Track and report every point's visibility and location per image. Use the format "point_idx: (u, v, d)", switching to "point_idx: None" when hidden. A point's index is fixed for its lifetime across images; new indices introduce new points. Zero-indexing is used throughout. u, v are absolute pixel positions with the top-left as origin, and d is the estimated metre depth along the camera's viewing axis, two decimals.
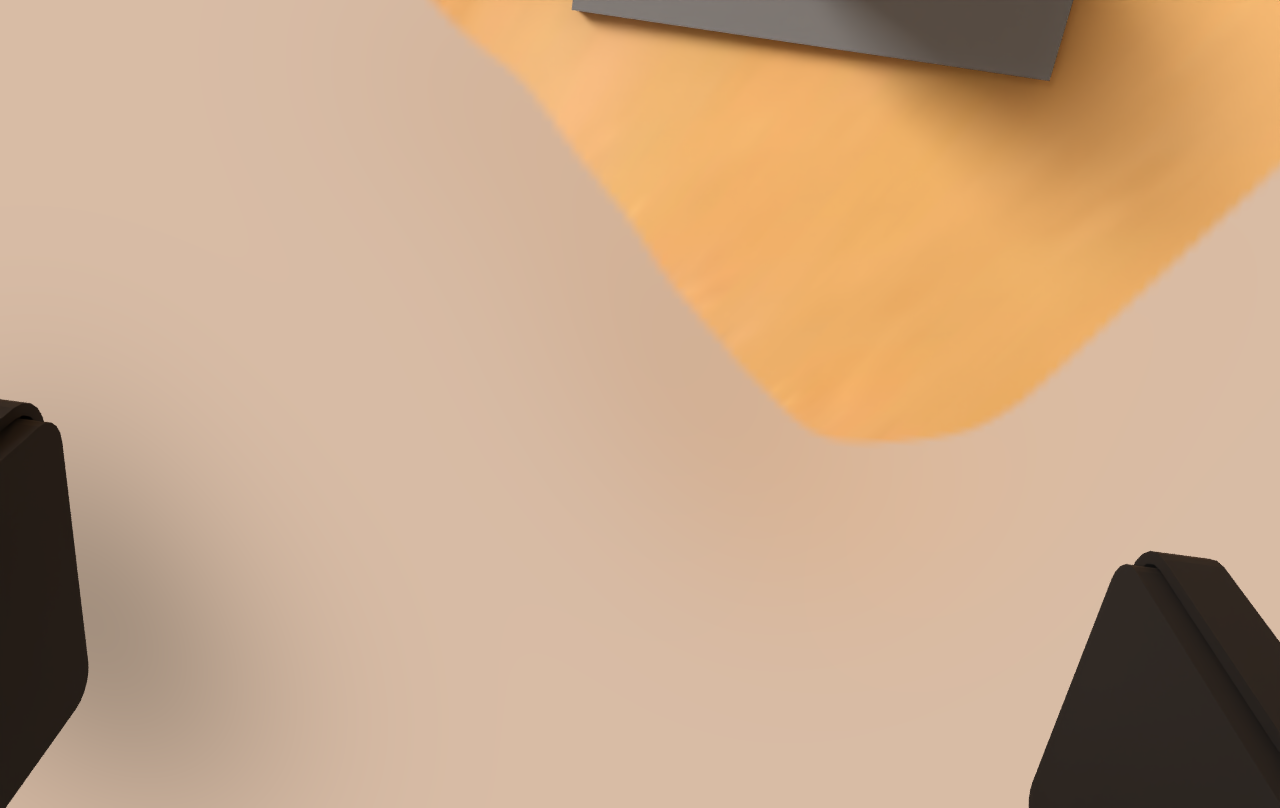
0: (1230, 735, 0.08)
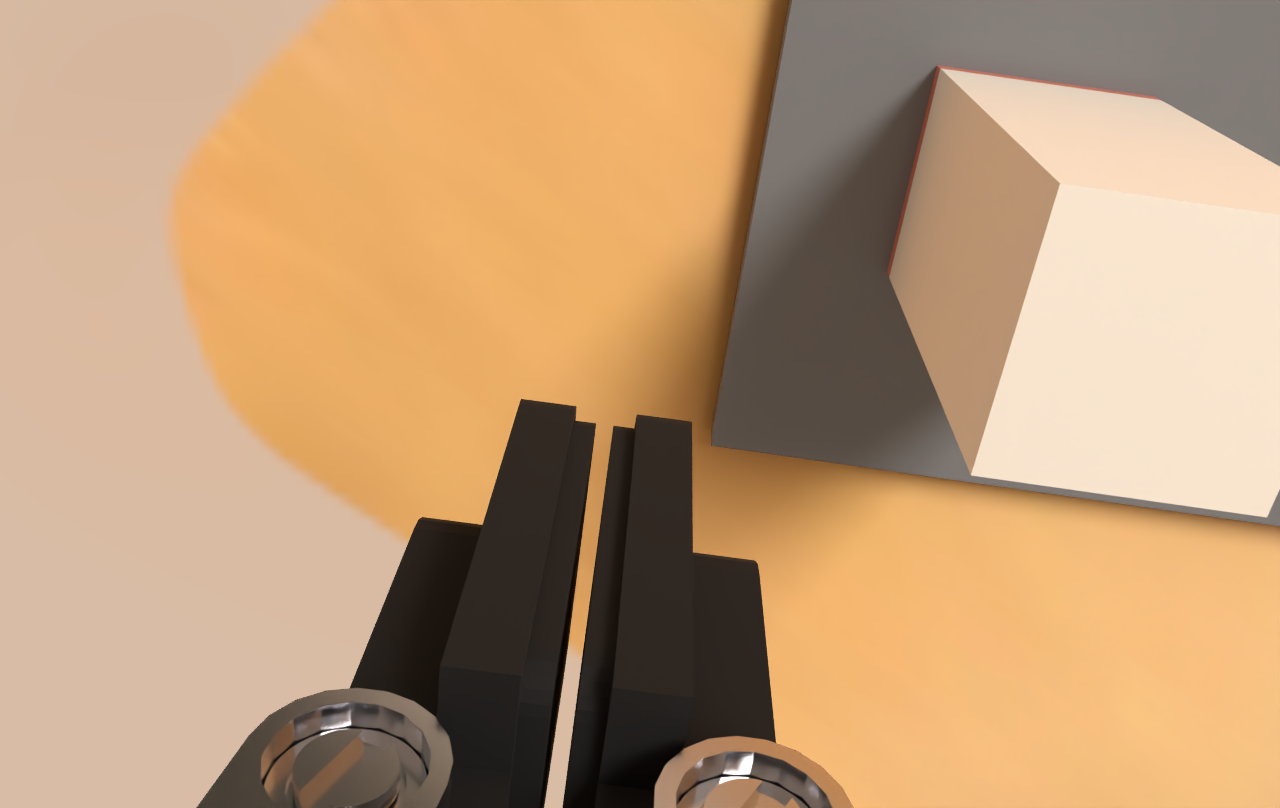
0: (600, 548, 0.09)
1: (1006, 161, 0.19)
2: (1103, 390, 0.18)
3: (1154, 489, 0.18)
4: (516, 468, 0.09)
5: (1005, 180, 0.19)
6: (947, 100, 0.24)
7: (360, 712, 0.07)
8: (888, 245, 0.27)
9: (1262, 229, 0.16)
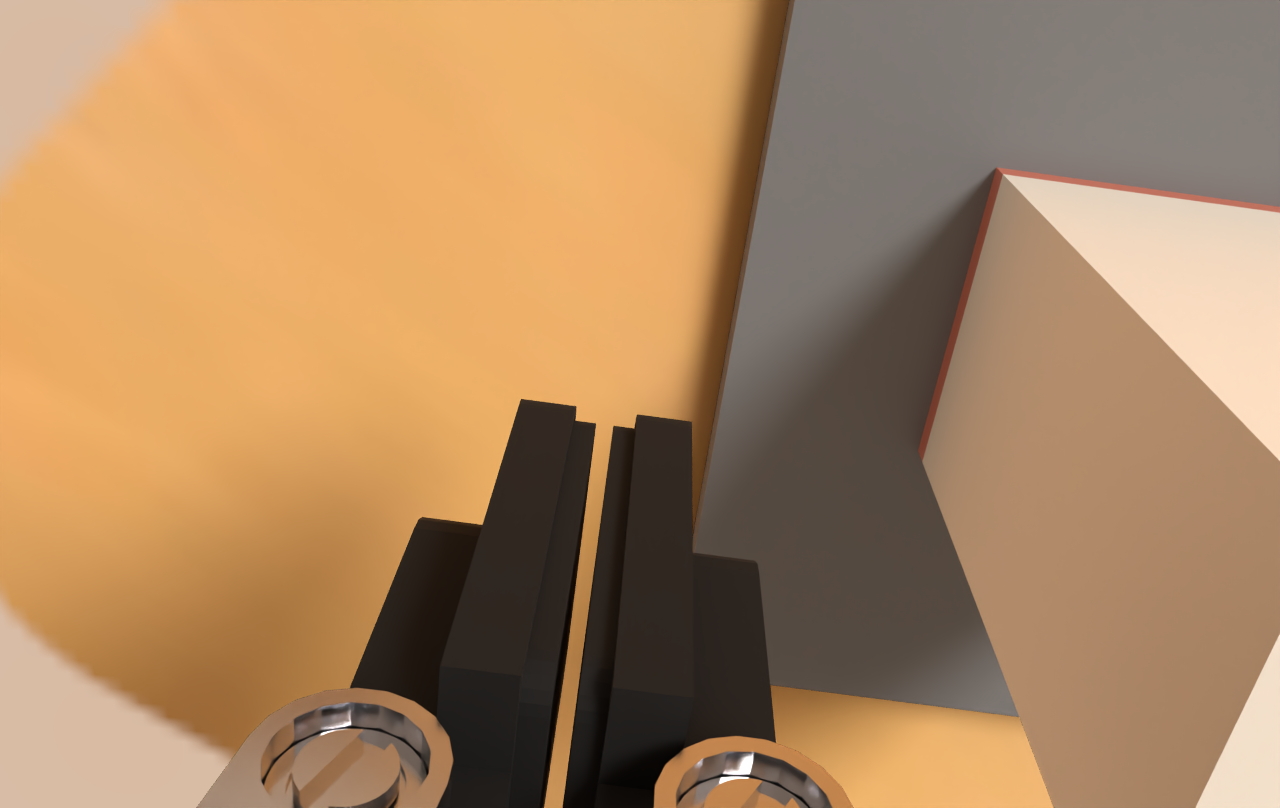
0: (600, 548, 0.09)
1: (1164, 394, 0.11)
2: None
3: None
4: (516, 468, 0.09)
5: (1166, 431, 0.11)
6: (1020, 230, 0.16)
7: (360, 712, 0.07)
8: (921, 415, 0.19)
9: None
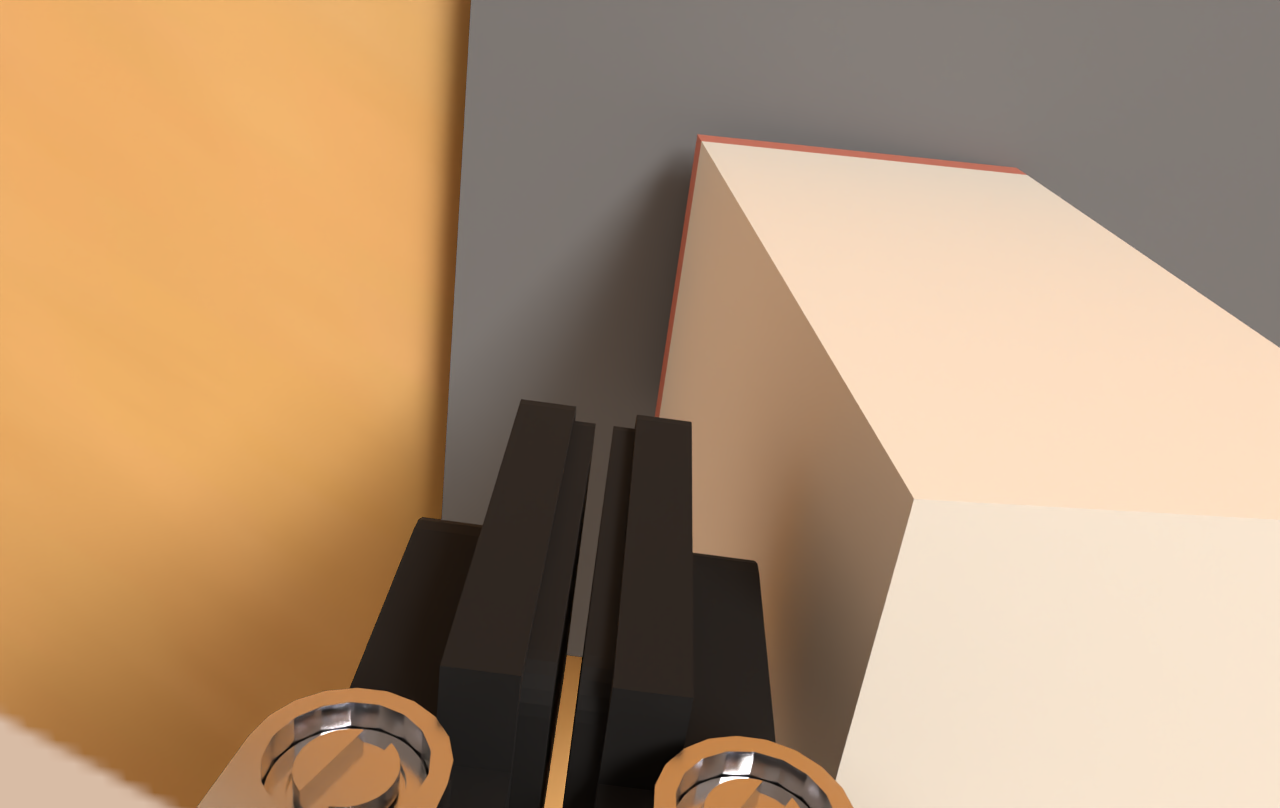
0: (600, 548, 0.09)
1: (803, 368, 0.10)
2: None
3: None
4: (517, 468, 0.09)
5: (804, 407, 0.10)
6: (712, 199, 0.15)
7: (361, 712, 0.07)
8: (649, 375, 0.19)
9: None
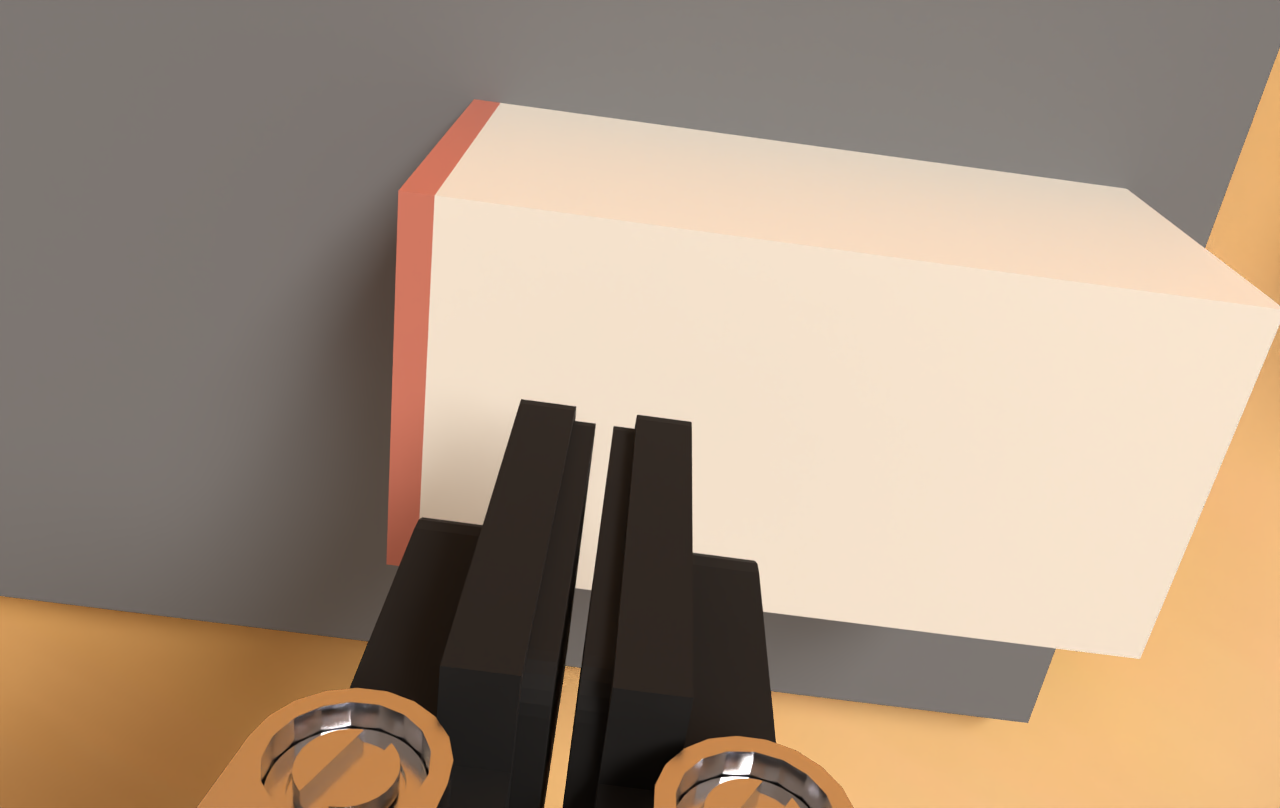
0: (600, 548, 0.09)
1: (1023, 309, 0.13)
2: None
3: None
4: (516, 469, 0.09)
5: (1037, 334, 0.13)
6: (560, 249, 0.12)
7: (360, 713, 0.07)
8: (151, 319, 0.19)
9: None
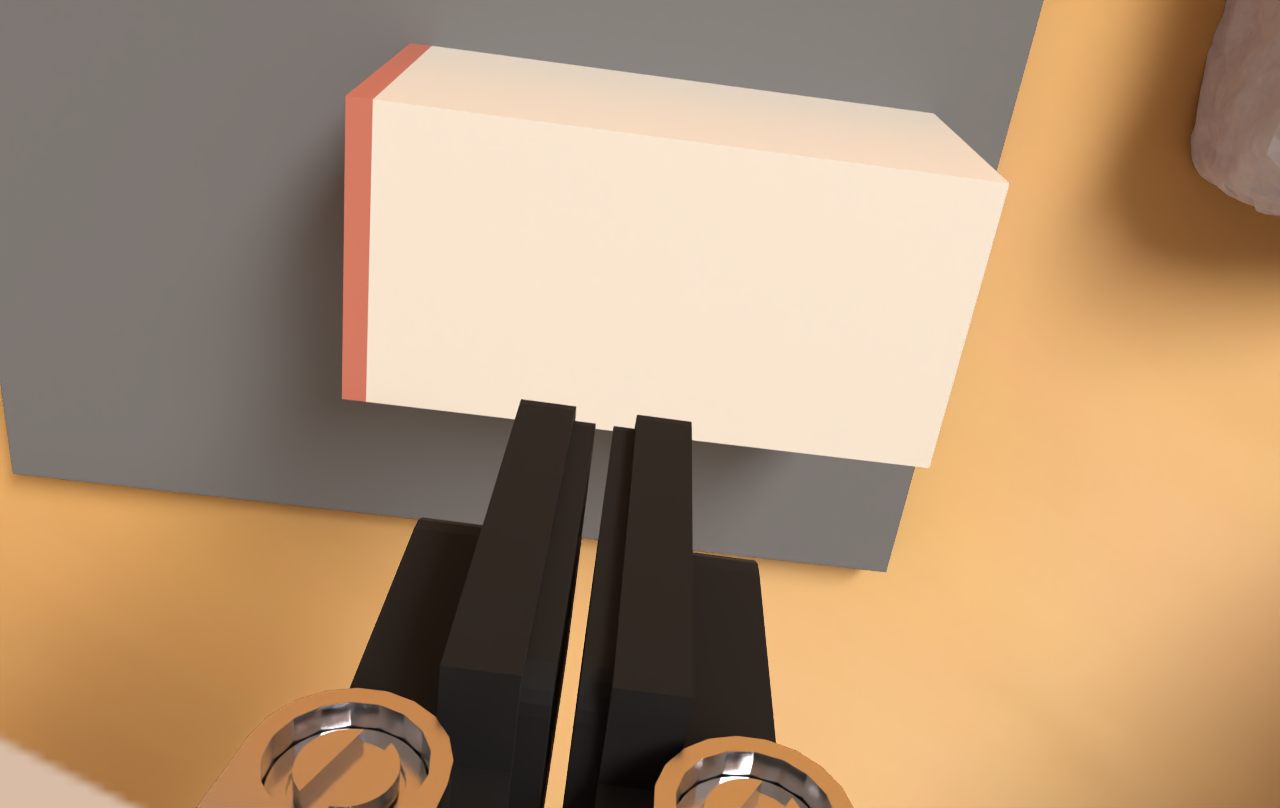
0: (600, 548, 0.09)
1: (816, 185, 0.17)
2: None
3: None
4: (516, 468, 0.09)
5: (829, 204, 0.17)
6: (468, 140, 0.17)
7: (360, 712, 0.07)
8: (148, 229, 0.22)
9: None
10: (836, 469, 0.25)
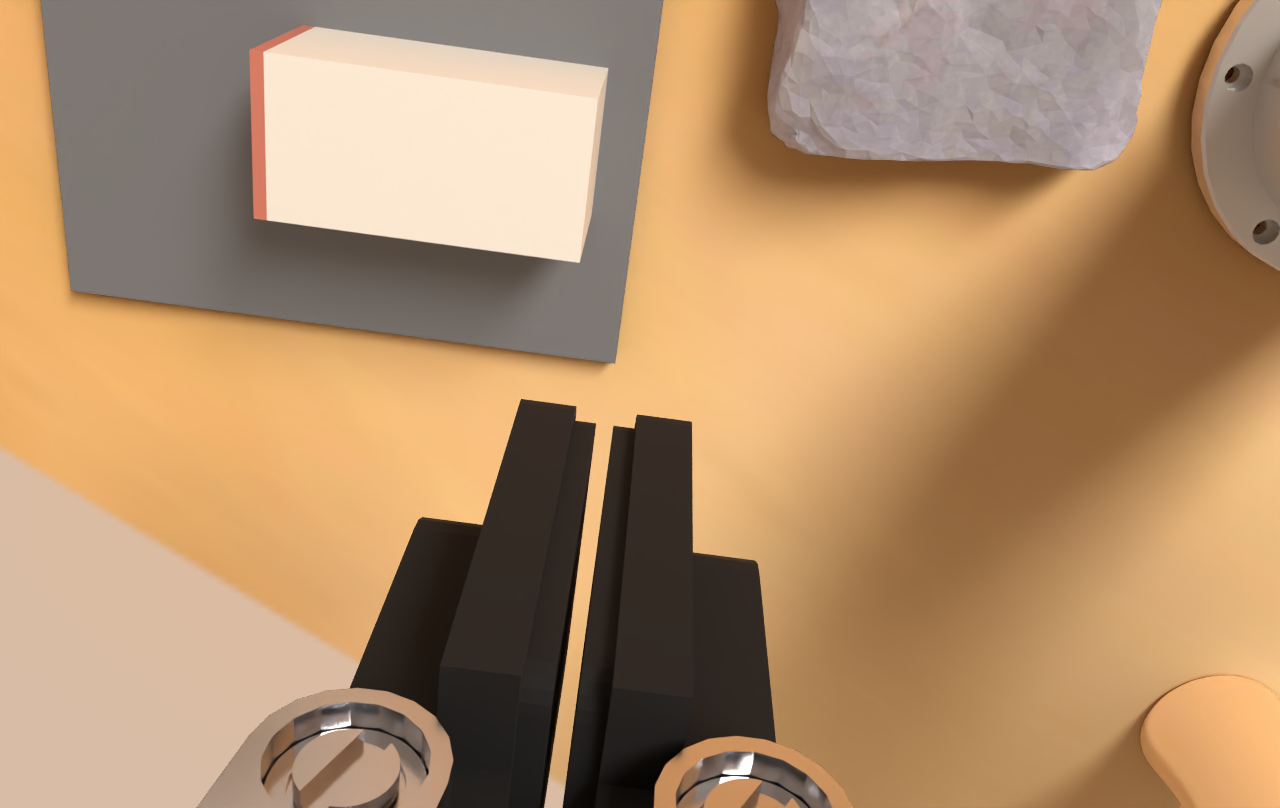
0: (600, 548, 0.09)
1: (496, 98, 0.32)
2: (590, 189, 0.35)
3: (588, 225, 0.37)
4: (516, 469, 0.09)
5: (504, 109, 0.32)
6: (313, 74, 0.32)
7: (360, 713, 0.07)
8: (153, 135, 0.38)
9: (603, 86, 0.35)
10: (576, 293, 0.40)
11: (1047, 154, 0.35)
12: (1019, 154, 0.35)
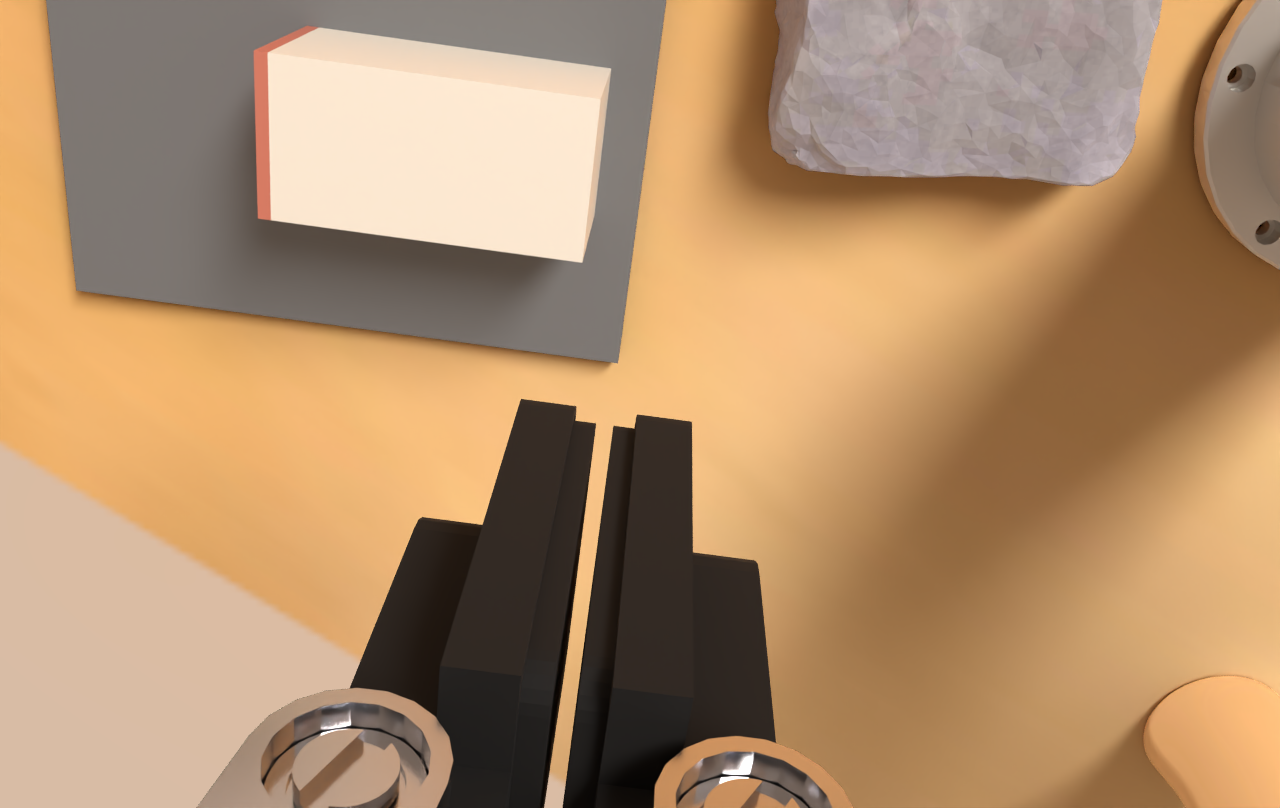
0: (600, 548, 0.09)
1: (499, 99, 0.32)
2: (592, 189, 0.35)
3: (590, 226, 0.37)
4: (516, 468, 0.09)
5: (507, 109, 0.32)
6: (317, 74, 0.32)
7: (360, 712, 0.07)
8: (158, 135, 0.38)
9: (606, 87, 0.35)
10: (579, 293, 0.40)
11: (1046, 170, 0.35)
12: (1018, 170, 0.35)
